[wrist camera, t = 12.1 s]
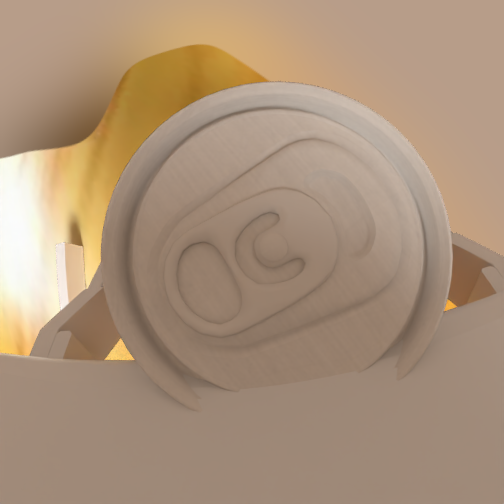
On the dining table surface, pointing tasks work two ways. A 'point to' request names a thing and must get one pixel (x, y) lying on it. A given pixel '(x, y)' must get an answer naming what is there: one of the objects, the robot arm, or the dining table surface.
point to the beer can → (274, 242)
